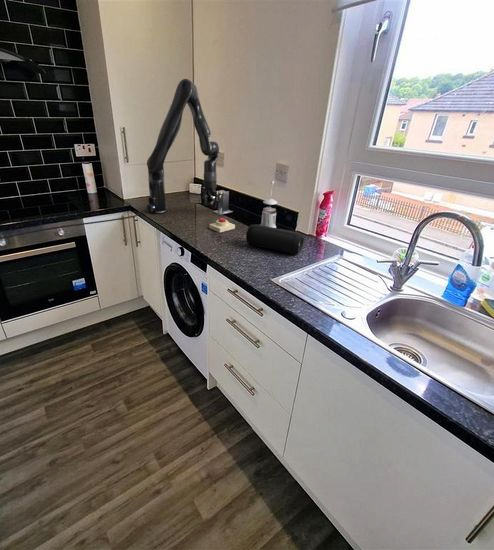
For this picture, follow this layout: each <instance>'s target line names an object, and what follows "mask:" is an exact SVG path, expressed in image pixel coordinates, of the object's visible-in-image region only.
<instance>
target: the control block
mask: <svg viewBox="0 0 494 550" xmlns="http://www.w3.org/2000/svg"><path fill="white" fill-rule="evenodd" d="M208 228H209V229H211V230H213V231H215V232H217V233H223V232H227V231H232V230H235V229H236V224H234V223H232V222H229V221H228V220H227V219H226V222H224V223H221V222H219V219H216V221H215V222H213V223H209V224H208Z"/></svg>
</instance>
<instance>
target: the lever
mask: <svg viewBox="0 0 494 550" xmlns="http://www.w3.org/2000/svg"><path fill="white" fill-rule="evenodd" d="M223 192H226V191H223ZM223 192H221V193H220V194H221V195H220V196H219V199H220V198H221V197H222V194H223ZM206 207H207V208H208V209H211V208H213V200H211V202H210V201H209V202H207V205H206Z"/></svg>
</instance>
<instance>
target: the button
mask: <svg viewBox="0 0 494 550" xmlns="http://www.w3.org/2000/svg"><path fill="white" fill-rule="evenodd" d="M218 220H219V222H221V223H224V222H226V220H227V219H226V218H225V217H219V218H218Z"/></svg>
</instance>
